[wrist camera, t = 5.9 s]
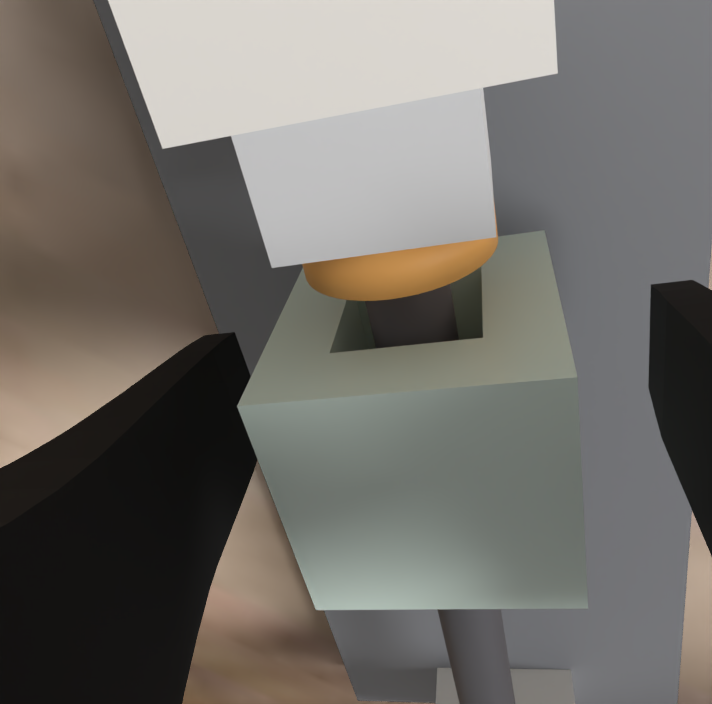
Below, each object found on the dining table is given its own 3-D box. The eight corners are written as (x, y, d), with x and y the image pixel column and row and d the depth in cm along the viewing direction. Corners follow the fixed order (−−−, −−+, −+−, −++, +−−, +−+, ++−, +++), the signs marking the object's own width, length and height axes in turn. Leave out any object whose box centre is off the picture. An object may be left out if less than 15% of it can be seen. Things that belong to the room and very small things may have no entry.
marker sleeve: (557, 424, 13) (587, 608, 9) (354, 439, 13) (315, 610, 10) (544, 230, 10) (577, 376, 7) (305, 262, 11) (236, 405, 8)
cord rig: (667, 672, 21) (733, 932, 16) (362, 667, 23) (329, 891, 18) (717, -203, 10) (1026, -345, 4) (112, -39, 12) (-178, 2, 7)
